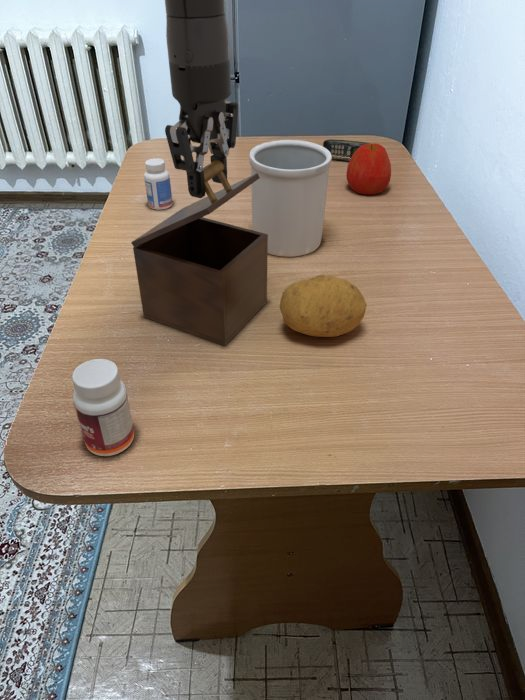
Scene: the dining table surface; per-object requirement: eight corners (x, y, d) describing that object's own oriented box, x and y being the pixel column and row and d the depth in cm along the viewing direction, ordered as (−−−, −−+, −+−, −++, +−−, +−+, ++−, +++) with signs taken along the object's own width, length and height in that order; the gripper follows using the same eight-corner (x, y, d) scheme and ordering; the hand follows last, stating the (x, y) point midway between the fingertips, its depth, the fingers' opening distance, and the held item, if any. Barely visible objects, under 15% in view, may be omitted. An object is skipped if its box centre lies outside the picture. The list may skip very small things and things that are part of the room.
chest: (267, 302, 96) (268, 234, 88) (225, 346, 86) (221, 274, 78) (190, 278, 101) (184, 212, 93) (143, 317, 92) (132, 247, 84)
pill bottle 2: (175, 200, 127) (170, 157, 121) (169, 210, 123) (165, 167, 117) (151, 199, 127) (145, 156, 121) (145, 209, 123) (139, 165, 117)
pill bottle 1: (76, 437, 72) (57, 370, 65) (119, 414, 75) (104, 348, 68) (100, 466, 68) (82, 399, 61) (144, 441, 71) (132, 374, 64)
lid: (260, 178, 83) (243, 144, 81) (209, 213, 73) (189, 176, 72) (185, 212, 93) (169, 183, 92) (133, 247, 84) (114, 215, 82)
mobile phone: (322, 141, 144) (381, 145, 141) (324, 137, 146) (383, 141, 143) (321, 160, 147) (379, 165, 144) (323, 156, 150) (381, 161, 146)
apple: (364, 176, 138) (369, 133, 132) (398, 189, 133) (405, 144, 126) (336, 188, 133) (340, 143, 126) (370, 202, 127) (376, 155, 121)
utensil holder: (329, 258, 107) (337, 168, 96) (251, 260, 107) (250, 169, 96) (319, 223, 119) (325, 139, 108) (248, 224, 118) (248, 139, 107)
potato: (373, 300, 80) (364, 261, 87) (279, 304, 80) (277, 265, 87) (368, 348, 87) (360, 308, 93) (281, 351, 87) (279, 311, 94)
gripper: (206, 43, 76) (214, 168, 86) (137, 65, 66) (156, 202, 76) (254, 48, 73) (257, 176, 83) (190, 71, 63) (202, 213, 73)
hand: (208, 188), depth 80 cm, fingers closed on lid, 5 cm apart
